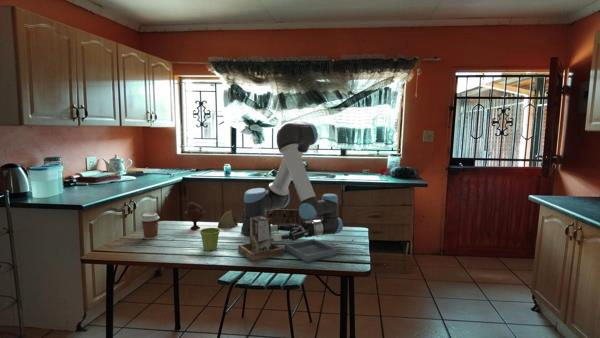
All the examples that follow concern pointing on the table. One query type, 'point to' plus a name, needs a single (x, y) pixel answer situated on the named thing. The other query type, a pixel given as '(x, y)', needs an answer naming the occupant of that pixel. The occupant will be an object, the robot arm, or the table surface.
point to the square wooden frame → (261, 255)
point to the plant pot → (210, 238)
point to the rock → (228, 220)
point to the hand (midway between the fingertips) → (268, 233)
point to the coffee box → (260, 234)
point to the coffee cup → (150, 225)
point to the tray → (310, 250)
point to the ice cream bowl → (194, 214)
